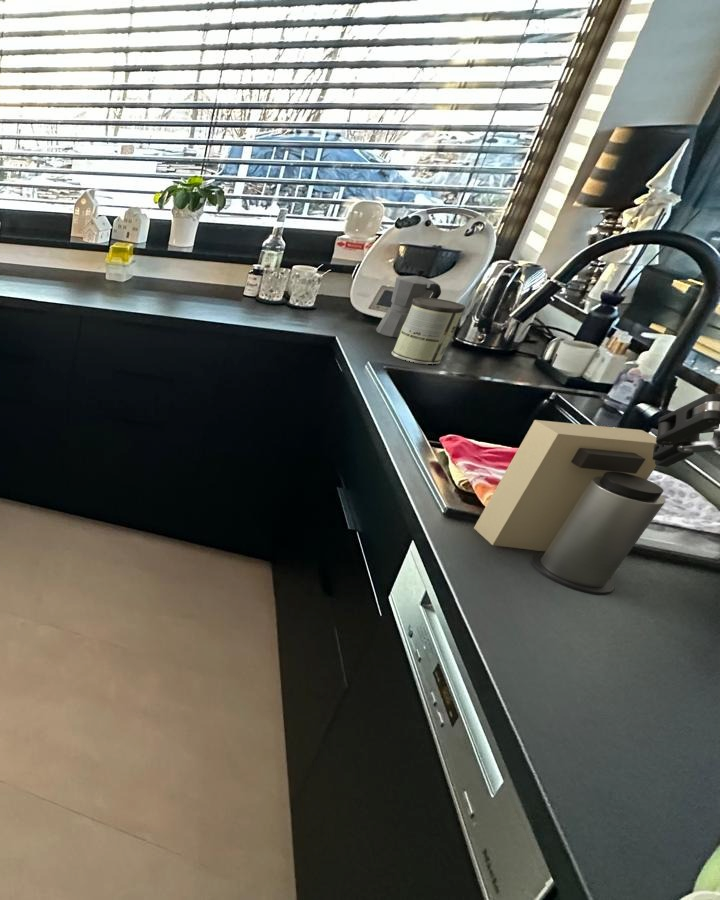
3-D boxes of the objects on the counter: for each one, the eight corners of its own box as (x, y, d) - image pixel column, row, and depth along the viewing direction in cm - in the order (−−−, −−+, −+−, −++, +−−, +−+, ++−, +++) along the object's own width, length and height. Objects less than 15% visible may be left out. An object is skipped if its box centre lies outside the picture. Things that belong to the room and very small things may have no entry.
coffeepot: (363, 326, 181) (387, 263, 173) (394, 327, 181) (420, 264, 173) (400, 343, 167) (429, 276, 159) (434, 344, 168) (464, 277, 159)
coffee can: (387, 348, 163) (409, 294, 156) (434, 355, 159) (459, 301, 152) (394, 359, 155) (418, 303, 148) (444, 367, 151) (471, 310, 144)
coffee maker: (564, 548, 85) (642, 430, 76) (646, 613, 73) (749, 483, 65) (468, 536, 86) (534, 419, 78) (535, 599, 75) (620, 470, 66)
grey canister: (580, 560, 79) (640, 472, 73) (619, 591, 74) (687, 499, 68) (528, 554, 80) (583, 466, 74) (563, 584, 75) (626, 492, 69)
